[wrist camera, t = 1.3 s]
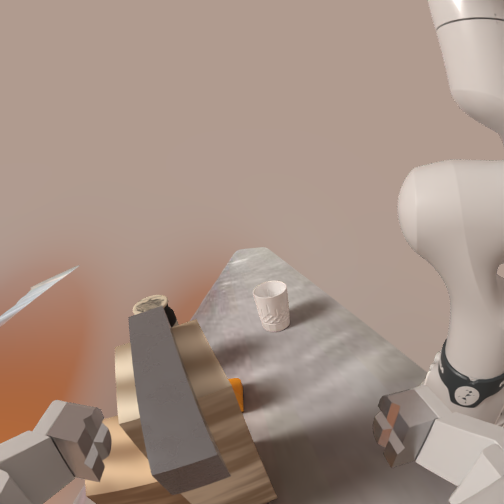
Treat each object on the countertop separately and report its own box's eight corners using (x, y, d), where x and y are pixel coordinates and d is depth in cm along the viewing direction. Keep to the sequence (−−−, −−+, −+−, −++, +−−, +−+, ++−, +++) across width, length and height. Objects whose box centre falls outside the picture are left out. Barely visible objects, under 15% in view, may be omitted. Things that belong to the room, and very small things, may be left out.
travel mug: (194, 381, 60) (165, 311, 53) (159, 385, 60) (126, 318, 53) (196, 357, 67) (171, 290, 61) (165, 362, 67) (136, 297, 61)
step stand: (277, 497, 32) (231, 385, 23) (150, 537, 26) (28, 444, 17) (245, 443, 43) (196, 319, 34) (135, 479, 37) (44, 369, 28)
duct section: (231, 476, 15) (217, 454, 14) (172, 495, 14) (151, 475, 13) (171, 328, 33) (162, 305, 32) (138, 339, 31) (128, 317, 30)
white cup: (273, 338, 69) (266, 301, 65) (254, 325, 75) (246, 291, 72) (299, 322, 73) (293, 286, 69) (278, 311, 79) (272, 277, 75)
